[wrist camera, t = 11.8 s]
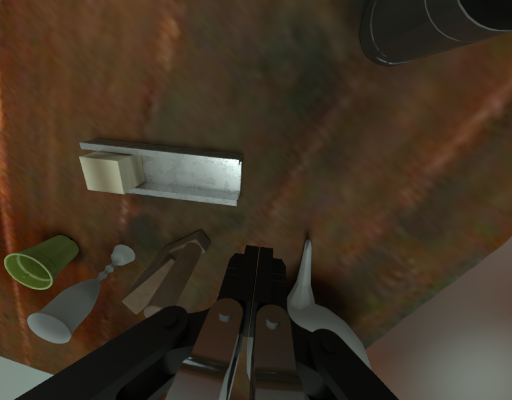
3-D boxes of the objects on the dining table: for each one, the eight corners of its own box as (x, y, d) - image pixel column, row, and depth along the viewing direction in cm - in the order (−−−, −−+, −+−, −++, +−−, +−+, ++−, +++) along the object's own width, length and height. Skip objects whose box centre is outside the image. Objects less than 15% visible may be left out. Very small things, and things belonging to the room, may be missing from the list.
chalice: (112, 236, 48) (26, 306, 32) (141, 248, 48) (72, 323, 32) (108, 258, 51) (28, 333, 35) (135, 269, 52) (69, 348, 35)
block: (140, 152, 38) (117, 161, 32) (144, 181, 40) (124, 194, 34) (107, 148, 38) (79, 156, 32) (113, 177, 40) (88, 189, 35)
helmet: (219, 427, 41) (155, 384, 19) (273, 290, 62) (272, 193, 40) (355, 520, 33) (521, 633, 11) (365, 325, 53) (429, 227, 31)
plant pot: (92, 262, 52) (59, 291, 44) (57, 260, 53) (19, 288, 45) (77, 229, 48) (38, 254, 40) (39, 228, 49) (-6, 253, 41)
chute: (242, 154, 37) (238, 160, 33) (240, 196, 41) (236, 205, 37) (98, 138, 38) (79, 142, 35) (107, 180, 42) (91, 188, 38)
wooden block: (163, 246, 48) (103, 323, 32) (201, 228, 45) (157, 303, 28) (173, 258, 49) (120, 338, 33) (211, 241, 46) (174, 320, 30)
